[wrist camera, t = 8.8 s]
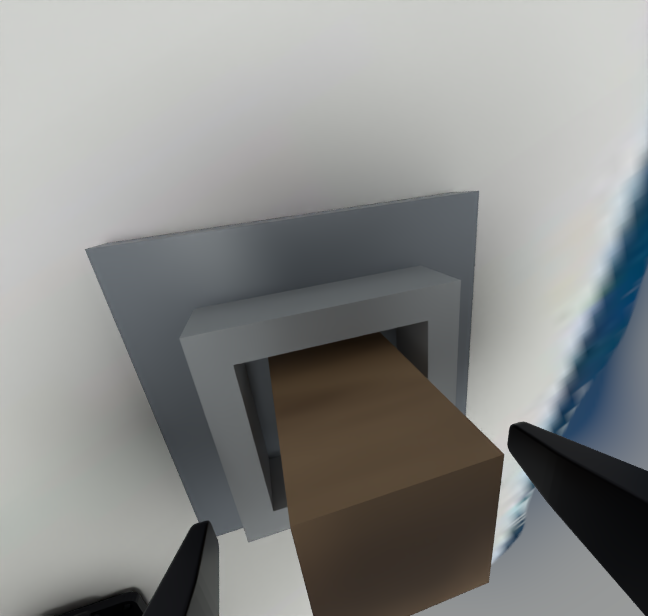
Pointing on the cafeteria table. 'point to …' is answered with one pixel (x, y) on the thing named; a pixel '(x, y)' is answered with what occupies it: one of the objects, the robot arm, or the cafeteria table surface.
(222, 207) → the cafeteria table surface
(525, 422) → the robot arm
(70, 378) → the cafeteria table surface
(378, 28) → the cafeteria table surface
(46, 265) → the cafeteria table surface
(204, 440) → the socket block
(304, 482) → the walnut peg
